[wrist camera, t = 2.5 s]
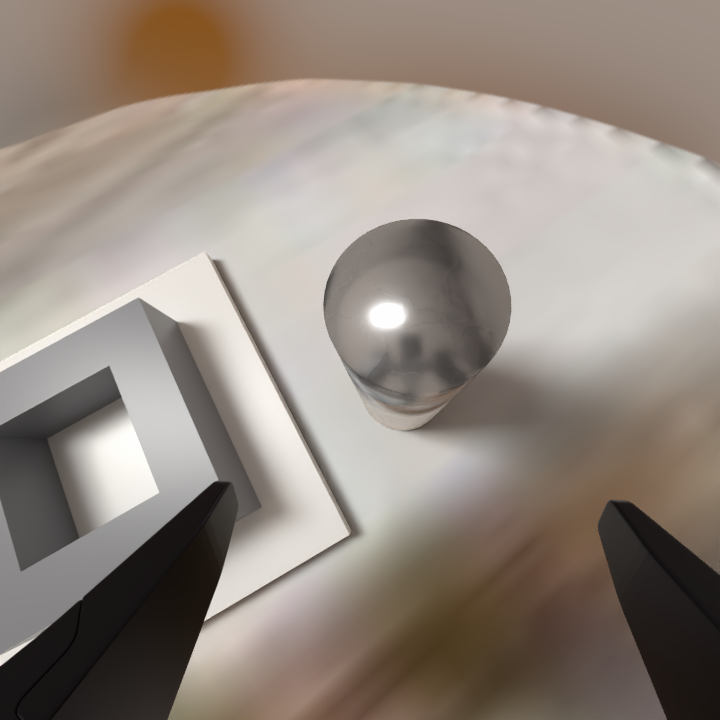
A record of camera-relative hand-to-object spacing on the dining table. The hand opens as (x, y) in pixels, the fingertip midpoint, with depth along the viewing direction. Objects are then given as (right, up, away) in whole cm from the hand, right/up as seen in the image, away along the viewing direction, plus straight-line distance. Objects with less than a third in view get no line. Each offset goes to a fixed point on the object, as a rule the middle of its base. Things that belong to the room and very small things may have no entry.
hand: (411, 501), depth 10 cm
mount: (-14, -2, +12) cm, 19 cm away
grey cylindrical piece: (+1, +2, +12) cm, 12 cm away
